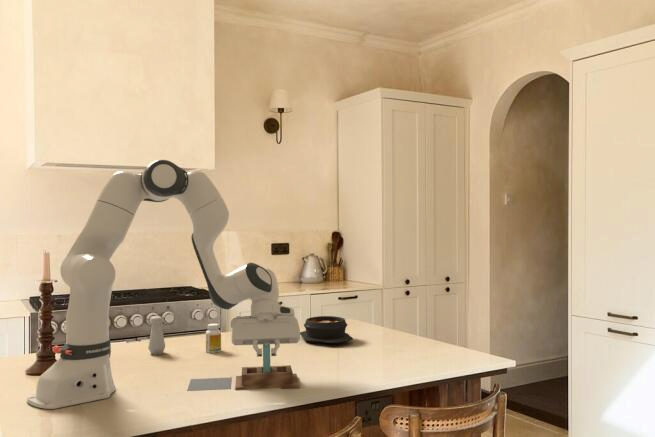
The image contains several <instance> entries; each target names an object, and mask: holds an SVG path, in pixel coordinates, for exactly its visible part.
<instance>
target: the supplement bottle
mask: <svg viewBox="0 0 655 437" xmlns="http://www.w3.org/2000/svg"><path fill="white" fill-rule="evenodd" d="M219 328H220V324H219V323H209V324H207V330H206V331H205V352H206V353H208V354H217V353H220V352H221V351H222V331H221V330H220V329H219Z"/></svg>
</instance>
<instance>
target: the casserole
mask: <svg viewBox="0 0 655 437" xmlns="http://www.w3.org/2000/svg"><path fill="white" fill-rule="evenodd" d="M303 326H304V328H305V330H303V331H300V337H301V338H302V339H304V340H306V341H309V342H310V343H311V342H312V343H315V344H320V345H321V344H326V345H327V344H339V343H340V344H341V343H346V342H351V341H353V340H354V337H352V336H351V335H350V334H349V333H347V332H346V329H347V327H348V323H347V321H346V319H345V317H344V318H343V317H340V316H335V315H333V316H332V315H331V316H330V315H321V316H320V315H319V316H318V315H317V316H312V317H308V318H306V320H305V323H304V324H303Z"/></svg>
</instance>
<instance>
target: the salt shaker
mask: <svg viewBox="0 0 655 437" xmlns="http://www.w3.org/2000/svg"><path fill="white" fill-rule="evenodd" d="M149 322H150V324H151V328H150V329H151V330H150V335H149V336H150V337H149V341H148V350H149V352H150V354H151V355H155V356H159V355H163V353H164V351H165V349H166V342H165V337H164V331H163V325H162V324H163V322H164V319H163V316H158V315H156V316H151V318H150V320H149Z"/></svg>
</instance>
